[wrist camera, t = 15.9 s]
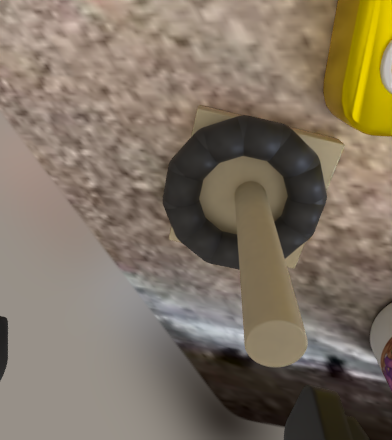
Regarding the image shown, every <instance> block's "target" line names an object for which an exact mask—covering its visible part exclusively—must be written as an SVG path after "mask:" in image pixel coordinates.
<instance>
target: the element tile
mask: <svg viewBox="0 0 392 440" xmlns="http://www.w3.org/2000/svg"><path fill="white" fill-rule="evenodd" d="M323 94H324V98H325V102H326V106H327V107H328V109H329V110H330V111H331V113H332V114H333V115H334V116H336V117H337V118H339V119H340V120H342V121H343V122H345V123H347V124H348V125H350V126H351V127H353V128H355V129H357V130H359V131H361V132H362V133H365V134H368V135H373V136H392V0H338V3H337V9H336V15H335V20H334V26H333V32H332V37H331V43H330V49H329V55H328V60H327V66H326V72H325V77H324V90H323Z"/></svg>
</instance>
